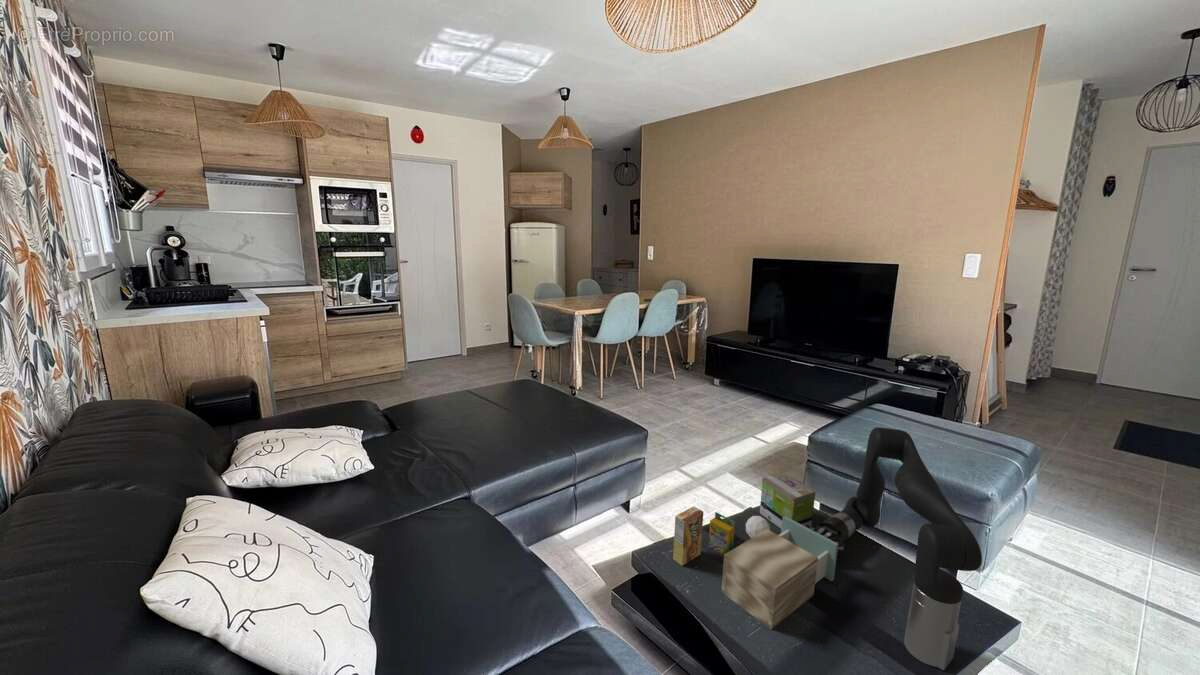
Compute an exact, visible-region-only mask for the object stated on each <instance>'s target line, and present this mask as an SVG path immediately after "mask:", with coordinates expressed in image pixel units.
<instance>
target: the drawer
mask: <svg viewBox="0 0 1200 675" xmlns="http://www.w3.org/2000/svg"><path fill="white" fill-rule="evenodd" d="M780 529H781V531H780V534H778V535H779V536H781V537H782V538H784V539H786V540H788V541H789V542H791V543H793V544H795V545H797V546H798V547H800V548H802V549H804V550H805V551H807V552H809V553H811V554H812V555H814V556H816V557H818V562H817V571H816V579H815V584H817V583H818V582H820V580H822V579H823V578H824V579H827V580H828V581H830V582H833V581H834V580H835V573H836V567H837V566H836V564H837V556H838V552H837V550H838V543H836V542H834V541H832V540H830V539H828V538H826V537H824V536H822V535H820V534H818V533H816V532H815V531H813V530H811V529H809V528H807V527H805V526H803V525H801V524H799V523H797V522H795V521H794V520H792V519H790V518H788V517H786V516H784V517H783V518H782V528H780Z"/></svg>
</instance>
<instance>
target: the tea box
mask: <svg viewBox="0 0 1200 675" xmlns="http://www.w3.org/2000/svg"><path fill="white" fill-rule="evenodd" d="M815 499H816V491H814V490H813V489H811V488H809V487H808V486H806V485H805V484H802V483H801V482H799V481H798V480H796V479H794V478H793V477H791V476H789V475H787V474H786V473H785V472H779V473H776V474H773V475H769V476H765V477H762V482H761V495H760V506H759V507H760V508H759V514H760V515H762V517H764V518H766V520H768V521H770V522H771V523H773V524H774V525H775V526H777V527H778V528H780V529H781V528H782V518H783V517H784V516H786V517H788V518H790V519H792V520H794V521H795V522H797V523H799V524H801V525H803V526H805V525H809V526H810V528H812V523H813V517H814V508H815V501H816V500H815Z"/></svg>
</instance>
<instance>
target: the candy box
mask: <svg viewBox="0 0 1200 675" xmlns="http://www.w3.org/2000/svg"><path fill="white" fill-rule="evenodd" d="M703 522H704V511H703V510H701V509H700V508H698V507H697V506H694V505H693V506H692V507H690V508H688V509H685V510H684V511H682V512H680V513H678V514H677V515H675V517H674V533H673V534H674V536H673V537H674V539H673V552H672V553H673V554H672V555H673V556H672V560H673V561H674V562H676V563H678V564H679V565H680V566H684V565H686V564H688V563H689V562H690V561H693V560H694V559H696V558H697V557H699V556H700V555H701V554H702V553H701V552H702V538H703V537H702V536H703V524H704V523H703Z"/></svg>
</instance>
